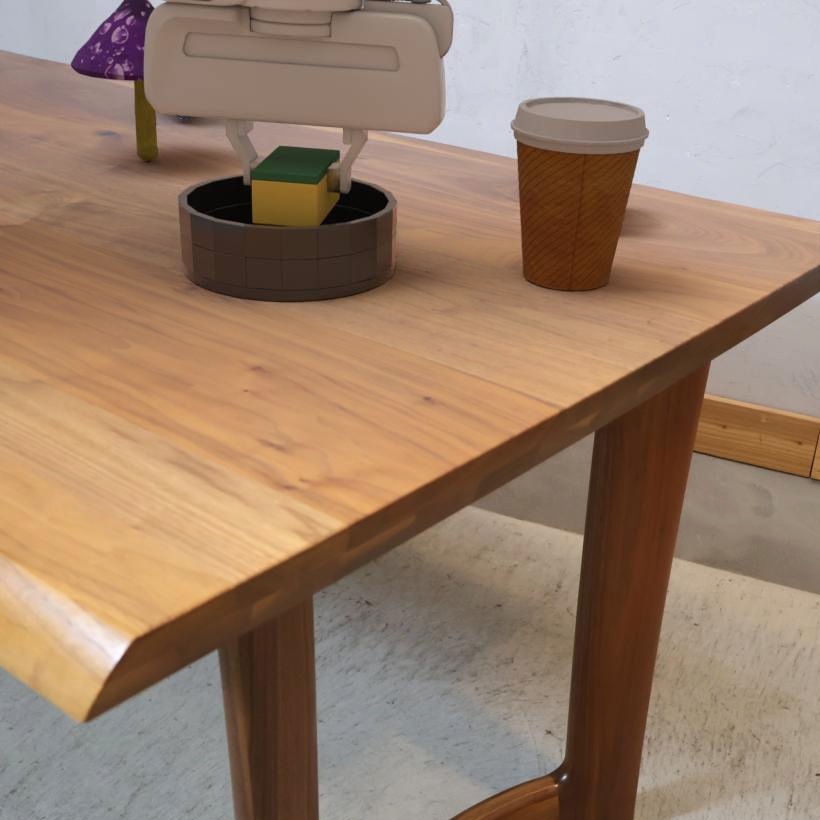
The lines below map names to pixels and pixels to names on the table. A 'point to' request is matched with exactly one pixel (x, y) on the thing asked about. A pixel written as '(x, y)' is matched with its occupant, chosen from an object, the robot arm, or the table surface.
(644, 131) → the disposable coffee cup
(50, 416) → the table surface
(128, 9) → the decorative mushroom
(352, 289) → the bowl
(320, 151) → the sponge
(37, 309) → the table surface
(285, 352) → the table surface
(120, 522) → the table surface
